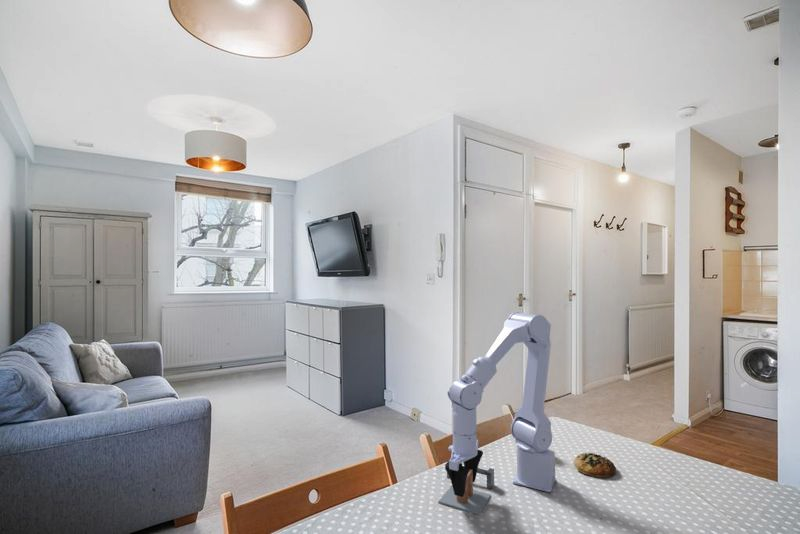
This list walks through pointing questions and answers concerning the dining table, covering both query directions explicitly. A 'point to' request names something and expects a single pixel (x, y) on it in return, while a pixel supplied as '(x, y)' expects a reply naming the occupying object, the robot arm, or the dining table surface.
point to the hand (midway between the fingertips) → (464, 487)
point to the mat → (473, 504)
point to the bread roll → (594, 465)
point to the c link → (467, 488)
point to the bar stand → (489, 476)
